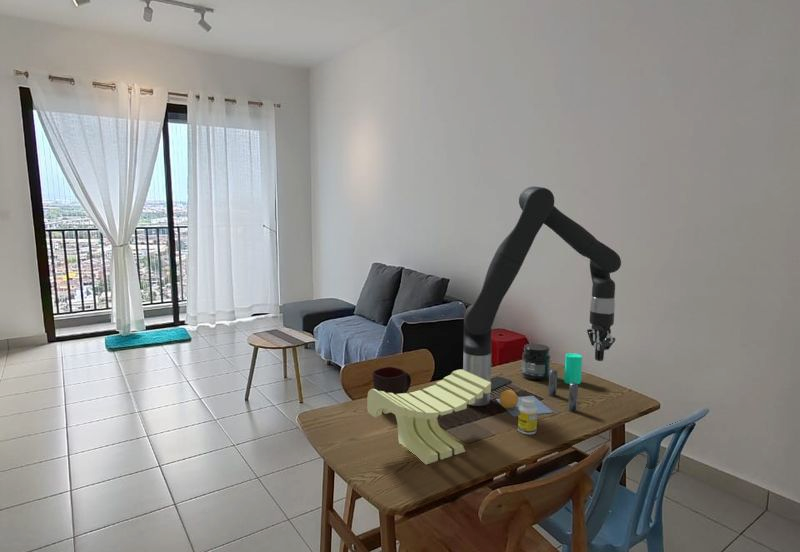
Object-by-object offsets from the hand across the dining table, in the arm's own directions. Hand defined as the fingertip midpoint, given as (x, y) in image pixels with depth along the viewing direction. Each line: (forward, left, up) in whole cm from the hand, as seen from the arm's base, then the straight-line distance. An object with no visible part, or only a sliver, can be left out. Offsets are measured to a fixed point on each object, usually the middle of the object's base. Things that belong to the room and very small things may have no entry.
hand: (599, 360), depth 166 cm
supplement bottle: (-34, -17, -14) cm, 41 cm away
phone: (-29, +21, -15) cm, 39 cm away
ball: (-33, -1, -11) cm, 34 cm away
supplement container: (-10, +25, -14) cm, 30 cm away
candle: (+1, +17, -14) cm, 22 cm away
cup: (-69, +9, -14) cm, 71 cm away
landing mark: (-27, 0, -14) cm, 30 cm away
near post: (-13, -7, -14) cm, 20 cm away
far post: (-13, +7, -14) cm, 20 cm away
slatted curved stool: (-65, -20, -14) cm, 69 cm away
